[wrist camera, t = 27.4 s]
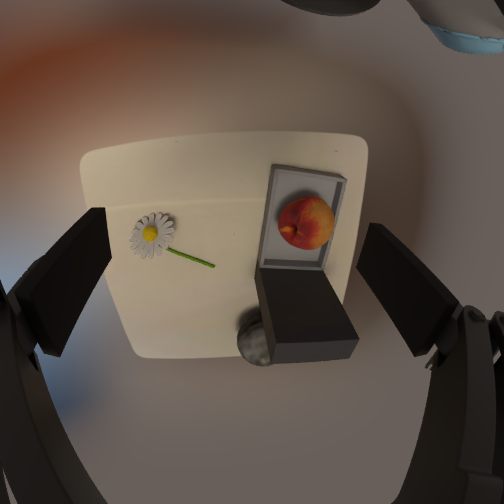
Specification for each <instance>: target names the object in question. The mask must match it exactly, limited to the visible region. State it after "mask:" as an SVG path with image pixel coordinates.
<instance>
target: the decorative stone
mask: <svg viewBox="0 0 504 504" xmlns="http://www.w3.org/2000/svg"><path fill="white" fill-rule="evenodd" d="M237 346H238V349H239V351H240V353H241V355H242V357H243V358H244V359H246V360H247V361H248V362H249V363H251V364H254V365H256V366H270V365H273V364H271V363H270V357H269V352H268V346H267V342H266V336H265V331H264V326H263V321H262V315H258V316H254V317H252V318H250V319H248V320H247V321H246V322H245V323H244V324H243V325H242V326H241V328H240V330H239V332H238V335H237Z"/></svg>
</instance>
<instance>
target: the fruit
mask: <svg viewBox="0 0 504 504" xmlns="http://www.w3.org/2000/svg"><path fill="white" fill-rule="evenodd" d="M334 225H335V218H334V214H333V212H332V210H331V208H330V207H329V206H328V205H327V203H326V202H325V201H324V200H322V199H321V198H319V197H315V196H309V197H301V198H298V199H296V200H294V201H293V202H291V203H289V204H288V205H287V206H286V207H285V208H284V209H283V211H282V213H281V216H280V218H279V221H278V230H279V232H280V234H281V236H282V237H283V238H284V239H285V241H286V242H288V243H289V244H290V245H292V246H294V247H296V248H300V249H303V250H314V249H317V248H319V247H321V246H322V245H324V244H325V243H326V242H327V241H328V240H329V239H330V237H331V236H332V234H333V230H334Z"/></svg>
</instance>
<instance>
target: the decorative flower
mask: <svg viewBox="0 0 504 504" xmlns="http://www.w3.org/2000/svg"><path fill="white" fill-rule="evenodd" d="M161 217H162V214H161V213H158V215H157V216H156V218H155V220H154V213H151V214H150V215H149V222H148V219H147V217H143V218H142V221H143V224H144V225H143V224H142V223H140V222H137V223H136V227H138V228H139V229H140V230H138V229H133V230H132V234H134V235H136V236H132V237H131V238H130V239H129V240H130V242H133V241H136V242H135V243H133V244H132V246H131V249H132V250H133V249H135V248H136V247H137V249H136V250H135V252H134V253H135V255H138V254H139V253H140V252H141V250H142V249H143V251H142V253H141V258H142V259H144V258H145V257H146V255H147V252H148V257H149V258H150V259H152V258H153V256H154V250H155V252H156V254H157V255H158V256H159V255H161V254H162V250H161V248H160V247H162V248H163V249H166V250H168V251H170V252H172V253H175V254H177V255H180V256H183V257H185V258H188V259H191V260H193V261H196V262H199V263H202V264H204V265H207V266H209V267H212V268H214V267H215V266H214V265H211V264H209V263H206V262H204V261H201V260H198V259H196V258H193V257H190V256H187V255H185V254H182V253H179V252H177V251H174V250H172V249H170V248H168V247H169V246H168V244H167V243H166V242H164V241H163V240H165V241H169V242H170V241H173V237H172V236H169V235H164V234H170V233H173V232H174V231H175V229H174V228H168V227H170V226H171V225H172V224H173V221H168V222H167V223H165V224H164V222H165V221H166V220H167V219H168V216H167V215H165V216H164V217H163V218H162V219H161ZM160 219H161V220H160ZM166 228H167V229H166ZM137 240H138V241H137ZM159 246H160V247H159ZM153 247H154V250H153Z"/></svg>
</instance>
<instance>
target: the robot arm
mask: <svg viewBox="0 0 504 504" xmlns="http://www.w3.org/2000/svg"><path fill="white" fill-rule="evenodd" d="M407 1H408V2H409V3H410V5H411V6H412V7H413V8H414V10H415V11H416V12H417V13H418V15H419V16H420V18H421V20H422V21H423V22H424V23H425V24H426V25H427V26H428V27H429V28H430V29H431V31H432V32H433V33H434V34H435V36H436V37H437V38H438V40H439V41H440V42H441V43H442V44H443V45H445V46H447V47H448V48H451V49H453V50H455V51H458V52H462V53H467V54H495V53H501V52H503V50H504V0H407ZM111 258H112V256H111V249H110V243H109V236H108V228H107V220H106V211H105V207H98V208H91V209H89V210H88V211H87V212H86V213H85V214H84V215H83V216H82V217H81V218H80V219H79V220H78V221H77V222H76V223H75V224H74V225H73V226H72V227H71V228H70V229H69V230H68V231H67V232H66V233H65V234H64V235H63V236H62V237H61V238H60V239H59V240H58V241H57V242H56V243H55V244H54V245H53V246H52V247H51V248H50V249H49V250H48V252H47V253H46V254H45V255H43V256H42V257H40V258H39V259H37V260H36V261H34V262H33V263H32V265H31V266H30V267H29V268H28V270H27V271H26V272H25V273H24V274H23V275H22V277H21V278H20V279H19V280H18V281H17V282H16V284H15V285H14V286H13V287H12V289H11V290H10V291H9V292H8V294H7V295H6V293H5V290H4V288H3V285H2V283H1V280H0V504H10V500H9V496H8V492H7V488H6V484H5V479H4V475H3V470H4V472H5V475H6V478H7V480H8V483H9V485H10V488H11V490H12V492H13V494H14V497H15V499H16V501H17V503H18V504H107V502H106V500H105V499H104V498H103V496H102V495H101V493H100V492H99V491H98V489H97V487H96V486H95V484H94V483H93V481H92V480H91V478H90V477H89V475H88V473H87V471H86V470H85V468H84V466H83V465H82V463H81V461H80V459H79V458H78V456H77V454H76V452H75V450H74V448H73V446H72V444H71V442H70V440H69V438H68V436H67V434H66V432H65V430H64V428H63V425H62V423H61V421H60V419H59V417H58V414H57V412H56V409H55V407H54V404H53V402H52V399H51V397H50V394H49V391H48V388H47V385H46V382H45V379H44V376H43V373H42V370H41V367H40V363H39V360H38V357H37V354H36V353H35V351H34V348H35V346H36V344H37V342H38V344H39V346H40V347H41V349H42V351H43V353H44V354H48V355H52V356H56V357H60V356H61V354H62V352H63V349H64V347H65V345H66V343H67V341H68V338H69V336H70V334H71V332H72V330H73V328H74V326H75V324H76V322H77V320H78V318H79V316H80V314H81V312H82V310H83V308H84V306H85V304H86V302H87V300H88V299H89V297H90V295H91V293H92V291H93V289H94V288H95V286H96V284H97V282H98V280H99V279H100V277H101V275H102V273H103V272H104V270H105V268H106V267H107V265H108V263H109V262H110V260H111ZM356 268H357V270H358V271H359V272H360V274H361V275H362V277H363V278H364V279H365V281H366V282H367V284H368V285H369V287H370V288H371V290H372V291H373V293H374V294H375V296H376V297H377V298H378V300H379V301H380V303H381V304H382V306H383V308H384V309H385V310H386V312H387V313H388V315H389V317H390V318H391V319H392V321H393V323H394V324H395V326H396V328H397V329H398V331H399V332H400V334H401V336H402V337H403V339H404V340H405V342H406V344H407V345H408V347H409V348H410V350H411V352H412V354H413V355H414V357H417V356H421V355H425V354H427V353H428V352H429V350H430V349H431V348H432V346H433V345H434V343H435V345H436V346H437V348H438V349H437V350H436V352H435V353H434V355H433V356H432V357H431V359H430V360H429V362H428V363H427V364H426V366H425V368H428V366H429V365H430V364H433V366H432V367H431V368H430V370H431V371H432V372H431V380H430V386H429V392H428V397H427V402H426V407H425V412H424V416H423V421H422V425H421V429H420V433H419V436H418V440H417V444H416V447H415V451H414V454H413V457H412V460H411V463H410V466H409V469H408V472H407V475H406V477H405V480H404V483H403V485H402V488H401V490H400V493H399V495H398V497H397V498H396V499H395V500H394V502H392V503H391V504H504V312H500V311H497V312H495V314H494V315H493V317H492V319H491V320H487V319H486V318H485V316H484V315H483V313H482V312H481V311H480V310H478V309H477V308H475V307H473V306H470V305H467V306H465V307H462V305H461V304H460V303H459V301H458V300H457V299H456V298H455V296H454V295H453V294H452V293H451V292H450V291H449V290H448V289H447V288H446V286H445V285H444V284H443V283H442V282H441V281H440V280H439V279H438V278H437V277H436V276H435V275H434V274H433V273H432V272H431V271H430V270H429V269H428V268H427V267H426V266H425V264H423V263H422V261H420V260H419V258H417V257H416V256H415V255H414V254H413V253H412V252H411V251H410V250H409V249H408V248H407V247H406V246H405V245H404V244H403V243H402V242H401V241H400V240H399V239H398V238H396V237H395V236H394V235H393V234H392V233H391V232H390V231H389V230H388V229H387V228H386V227H384V226H383V225H382V224H378V223H370V224H369V227H368V231H367V234H366V238H365V241H364V244H363V248H362V251H361V254H360V257H359V260H358V263H357V266H356ZM499 350H500V353H501V356H500V357H499V359H498V360H497V361H496V362H495V364H493V358H494V356H495V355H496V354H497V352H498V351H499ZM2 467H3V469H2Z"/></svg>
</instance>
